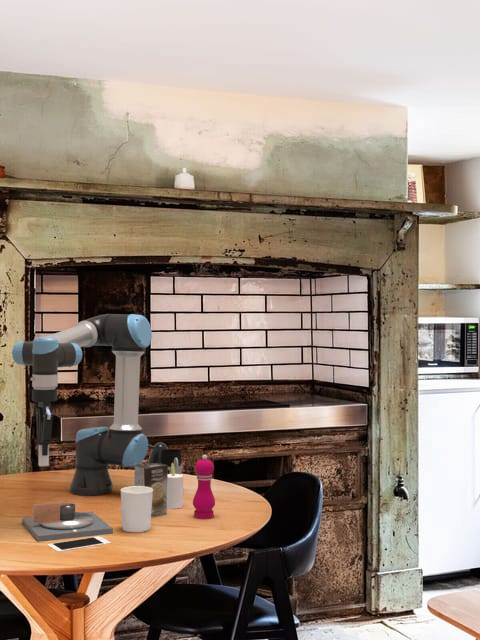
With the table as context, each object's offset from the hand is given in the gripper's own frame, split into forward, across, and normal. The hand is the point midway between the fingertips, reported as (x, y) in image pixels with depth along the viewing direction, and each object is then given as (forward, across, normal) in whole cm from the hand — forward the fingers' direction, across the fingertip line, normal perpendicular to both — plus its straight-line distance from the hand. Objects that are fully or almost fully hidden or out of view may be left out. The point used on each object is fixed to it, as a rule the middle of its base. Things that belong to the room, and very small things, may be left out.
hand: (43, 465), depth 248 cm
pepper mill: (+19, +8, +50) cm, 54 cm away
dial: (+17, +5, +5) cm, 18 cm away
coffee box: (+19, -1, +35) cm, 40 cm away
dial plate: (+18, +5, +6) cm, 20 cm away
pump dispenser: (+19, -48, +56) cm, 76 cm away
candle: (+19, -8, +46) cm, 50 cm away
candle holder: (+19, +14, +25) cm, 34 cm away
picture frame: (+19, -27, +53) cm, 62 cm away
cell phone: (+19, +23, +5) cm, 30 cm away
